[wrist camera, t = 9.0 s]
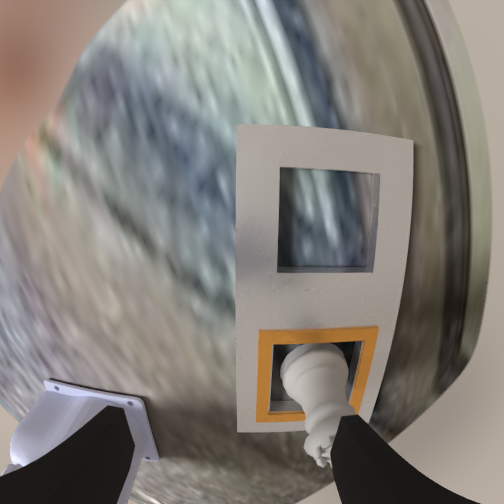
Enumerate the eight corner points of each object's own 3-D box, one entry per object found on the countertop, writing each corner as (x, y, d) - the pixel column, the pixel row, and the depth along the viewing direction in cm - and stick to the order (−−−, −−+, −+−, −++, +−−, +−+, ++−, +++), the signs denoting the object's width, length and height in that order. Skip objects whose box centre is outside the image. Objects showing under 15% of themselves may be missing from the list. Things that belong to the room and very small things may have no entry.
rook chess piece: (353, 369, 19) (394, 450, 11) (299, 399, 20) (318, 486, 12) (326, 324, 18) (368, 407, 11) (266, 359, 19) (275, 452, 11)
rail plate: (237, 421, 20) (237, 434, 19) (237, 128, 16) (237, 123, 14) (364, 413, 20) (369, 424, 19) (403, 142, 16) (414, 140, 14)
